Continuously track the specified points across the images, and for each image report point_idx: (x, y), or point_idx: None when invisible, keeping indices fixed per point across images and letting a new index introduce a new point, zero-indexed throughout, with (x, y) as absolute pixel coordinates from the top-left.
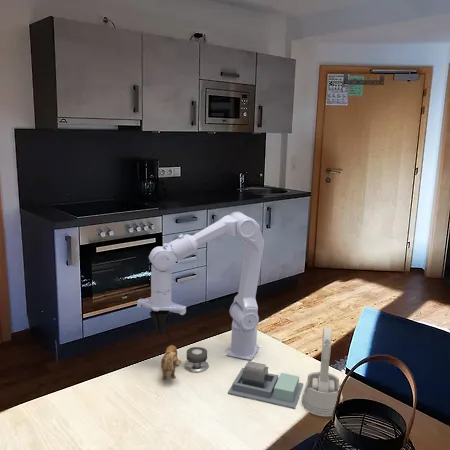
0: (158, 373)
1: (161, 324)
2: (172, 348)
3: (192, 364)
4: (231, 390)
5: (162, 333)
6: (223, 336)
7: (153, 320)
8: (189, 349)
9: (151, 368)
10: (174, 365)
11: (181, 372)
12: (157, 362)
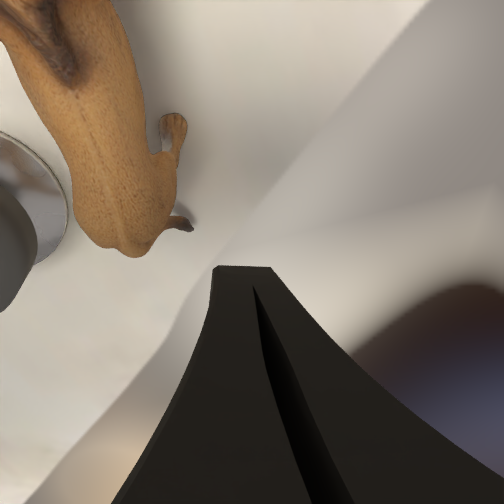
0: (186, 32)
1: (217, 380)
2: (87, 189)
3: None
4: None
5: (212, 286)
6: (39, 464)
7: (423, 424)
8: (9, 275)
9: (260, 89)
10: None
11: None
12: (248, 173)
